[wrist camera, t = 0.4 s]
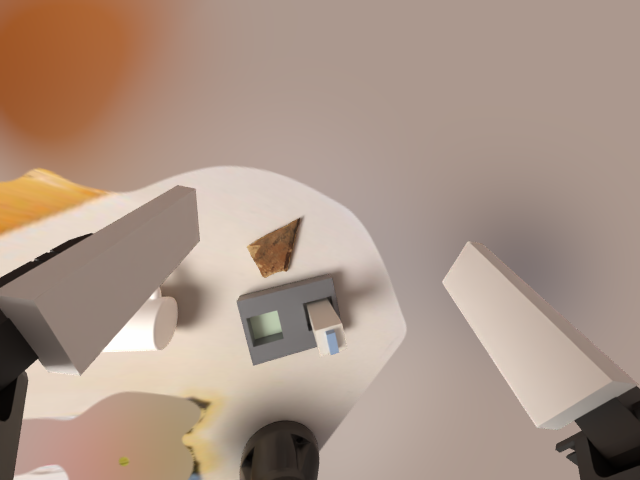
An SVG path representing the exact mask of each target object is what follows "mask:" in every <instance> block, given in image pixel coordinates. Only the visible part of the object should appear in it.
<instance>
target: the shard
mask: <svg viewBox="0 0 640 480" xmlns="http://www.w3.org/2000/svg"><path fill="white" fill-rule="evenodd" d="M299 221H300V218H299V219H297V220H295V221H293V222H291V223H290V224H288V225H286V226H284V227H283V228H280V229H278V230H275V231H273V232H272V233H269V234H267V235H265V236H264V237H262V238H260V239H258V240H256V241H255V242H254V243H253V244H251V245H249V246H247V248H248V251H249V252H250V254H251V257H252V258H253V260H254V262H255V263H256V265H257V266H258V268H259V270H260V272H261V275H262V276H263V277H264V278H266V277H268V276H270V275H272V274H274V273H276V272H280V271H287V270H288V264H289V261H290V257H291V253H292V249H293V246H294V242H295V238H296V231H297V227H298V225H299Z"/></svg>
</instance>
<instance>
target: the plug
mask: <svg viewBox="0 0 640 480" xmlns="http://www.w3.org/2000/svg"><path fill="white" fill-rule="evenodd" d="M306 305H307V310H308V314H309V319H310V323H311V326H312V329H313V333H314V336H315V340H316V343H317V346H318V350H319V353H320V357H322V356H326V355H329V354H331V355H333V354H336V353H339V351H342V350H345V349H347V345H346V340H345V335H344V330H343V325H342V322H341V321H340V319H339V317H338V316H337V314H336V312H335V311H334V309H333V307H332V306H331V304H330V302H329V301H328V299H327V297H326V298H322V299H318V300H315V301H311V302H307V303H306Z"/></svg>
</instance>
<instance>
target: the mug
mask: <svg viewBox="0 0 640 480" xmlns="http://www.w3.org/2000/svg"><path fill="white" fill-rule="evenodd" d="M177 319H178V306H177V302H176V300H175V299H174V298H173V297H162V296H161V289H160V286H159V287H158V289H157V290H156V291H155V292H154V293H153V294H152V295H151V296H150V298H149V299H148V300H147V301H146V302H145V303H144V304H143V305H142V307H141V308H140V309H139V310H138V311H137V312H136V313H135V315H134V316H133V317H132V318H131V319H130V320H129V321H128V322H127V324H126V325H125V326H124V327H123V328H122V329H121V330H120V331H119V333H118V334H117V335H116V336H115V337H114V338H113V339H112V341H111V342H110V343H109V344H108V345H107V346H106V347H105V348H104V350H103V351H102V352H120V351H152V350H162V349H164V348H165V347H166V346H167V345H168V344H169V342H170V341H171V339H172V337H173V334H174V332H175V329H176V325H177Z"/></svg>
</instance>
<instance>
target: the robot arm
mask: <svg viewBox="0 0 640 480" xmlns="http://www.w3.org/2000/svg"><path fill="white" fill-rule="evenodd" d="M199 241H200V236H199V224H198V212H197V200H196V189H194V188H189V187H184V186H179V185H177V186H176V187H174V188H172V189H170V190H169V191H167V192H165V193H163V194H162V195H160V196H158V197H157V198H155V199H153V200H151V201H150V202H148V203H146V204H144V205H143V206H141V207H139V208H137V209H136V210H134V211H132V212H131V213H129V214H127V215H125V216H124V217H122V218H120V219H118V220H117V221H115V222H113V223H112V224H110V225H108V226H106V227H105V228H103V229H101V230H99V231H98V232H96V233H94V234H92V233H90V234H87V235H84V236H80V237H77V238H74V239H71V240H68V241H67V242H65V243H63V244H61V245H59V246H57V247H56V248H54V249H52V250H50V253H47V252H46V253H45V254H43V255H41V256H39V257H37V258H35V259H34V261H33V262H31V261H30V262H28V263H26V264H24V265H23V266H21V267H19V268H17V269H15V270H13V271H12V272H10V273H8V274H6V275H4V276H3V277H1V278H0V480H13V478H14V471H15V464H16V458H17V450H18V444H19V438H20V431H21V425H22V418H23V411H24V405H25V398H26V392H27V385H28V377H27V373H26V372H25V370H26V369H27V368H28V367H29V366H30V365H31V364H32V363H34V362H35V361H36V360H37V359H39V361H40V362H41V363H42V365H43V366H44V367H45V369H46V370H47V371H48V372H53V373H62V374H71V375H80V376H81V374H82V373H83V372H84V371H85V370H86V369H87V368H88V366H89V365H90V364H91V363H92V362H93V361H94V360H95V359H96V357H97V356H98V355H99V354H100V353H101V352H102V351H103V350H104V348H105V347H106V346H107V345H108V344H109V343H110V342H111V341H112V339H113V338H114V337H115V336H116V335H117V334H118V333H119V331H120V330H121V329H122V328H123V327H124V326H125V325H126V324H127V322H128V321H129V320H130V319H131V318H132V317H133V316H134V315H135V313H136V312H137V311H138V310H139V309H140V308H141V307H142V305H143V304H144V303H145V302H146V301H147V300H148V299H149V298H150V296H151V295H152V294H153V293H154V292H155V291H156V290H157V289H158V287H159V286H160V285H161V284H162V283H163V282H164V281H165V279H166V278H167V277H168V276H169V275H170V274H171V273H172V272H173V270H174V269H175V268H176V267H177V266H178V265H179V264H180V263H181V261H182V260H183V259H184V258H185V257H186V256H187V255H188V254H189V252H190V251H191V250H192V249H193V248H194V247H195V246H196V244H197V243H198V242H199ZM442 283H443V285H444V286H445V288H446V289H447V291H448V292H449V294H450V295H451V297H452V298H453V300H454V302H455V303H456V305H457V306H458V308H459V309H460V310H461V312H462V313H463V315H464V317H465V318H466V320H467V321H468V323H469V325H470V326H471V328H472V329H473V330H474V332H475V334H476V335H477V337H478V338H479V340H480V341H481V343H482V344H483V346H484V347H485V349H486V351H487V352H488V354H489V355H490V357H491V358H492V360H493V361H494V363H495V364H496V366H497V367H498V369H499V370H500V372H501V374H502V375H503V376H504V378H505V380H506V381H507V383H508V384H509V386H510V387H511V389H512V390H513V392H514V393H515V395H516V396H517V398H518V400H519V401H520V403H521V404H522V406H523V407H524V409H525V410H526V412H527V413H528V415H529V416H530V418H531V419H532V421H533V423H534V424H535V426H536V427H538V428H547V429H555V430H559V429H561V428H563V427H564V426H566V425H568V424H570V423H571V422H573V421H575V422H576V423H577V425H578V426H579V427H580V428H581V430H582V431H580V432H578V433H577V434H575V435H573V436H571V437H569V438H567V439H565V440H563V441H561V442H559V443H557V444H556V450H557V451H558V452H562V451H564V450H566V449H568V448H571V449H573V450H575V452H573V453H570V454H569V455H567V457H566V458H568V459H569V460H570V461H572V462H573V463H574V464H576V465H577V466H578V468H579V474H580V479H581V480H640V389H639V388H638V387H637V385H638V383H636V382H635V381H634V380H633V379H632V378H631V377H630V376H629V375H628V374H626V373H625V372H624V371H623V370H622V369H621V368H620V367H619V366H618V365H616V364H615V363H614V362H613V361H612V360H611V359H610V358H609V357H607V356H606V355H605V354H604V353H603V352H602V351H601V350H600V349H599V348H597V347H596V346H595V345H594V344H593V343H592V342H591V341H590V340H589V339H588V338H586V337H585V336H584V335H583V334H582V333H581V332H580V331H579V330H578V329H576V328H575V327H574V326H573V325H572V324H571V323H570V322H569V321H568V320H566V319H565V318H564V317H563V316H562V315H561V314H560V313H559V312H557V311H556V310H555V309H554V308H553V307H552V306H551V305H550V304H549V303H548V302H546V301H545V300H544V299H543V298H542V297H541V296H540V295H539V294H537V293H536V292H535V291H534V290H533V289H532V288H531V287H530V286H529V285H528V284H526V283H525V282H524V281H523V280H522V279H521V278H520V277H519V276H517V275H516V274H515V273H514V272H513V271H512V270H511V269H510V268H509V267H508V266H506V265H505V264H504V263H503V262H502V261H501V260H500V259H499V258H498V257H496V256H495V255H494V254H493V253H492V252H491V251H490V250H488V249H487V248H486V247H485V246H484V245H483V244H481V243H476V242H470V241H468V242H467V244H466V245H465V247H464V248H463V250H462V251H461V253H460V255H459V256H458V258H457V259H456V261H455V263H454V264H453V266H452V267H451V269H450V270H449V272H448V274H447V275H446V277H445V278H444V280H443V281H442ZM318 469H319V452H318V446H317V441H316V439H315V436H314V435H313V433H312V432H311V431H310V430H309V429H308V428H307V427H305V426H304V425H302V424H300V423H297V422H292V421H280V422H275V423H272V424H269V425H267V426H265V427H263V428H262V429H260V430H259V431H257V432H256V433H255V434H254V435H253V436H252V437H251V438H250V440H249V441H248V442H247V444H246V446H245V448H244V450H243V453H242V458H241V464H240V480H317V476H318Z"/></svg>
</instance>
